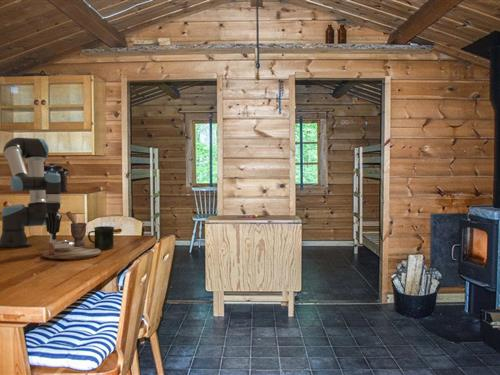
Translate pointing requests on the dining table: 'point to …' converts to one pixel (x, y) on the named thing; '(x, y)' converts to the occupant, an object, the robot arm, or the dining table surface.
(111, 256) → the dining table surface
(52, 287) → the dining table surface
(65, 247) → the cover
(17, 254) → the dining table surface
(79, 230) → the mortar and pestle
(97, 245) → the mug
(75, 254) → the turntable
